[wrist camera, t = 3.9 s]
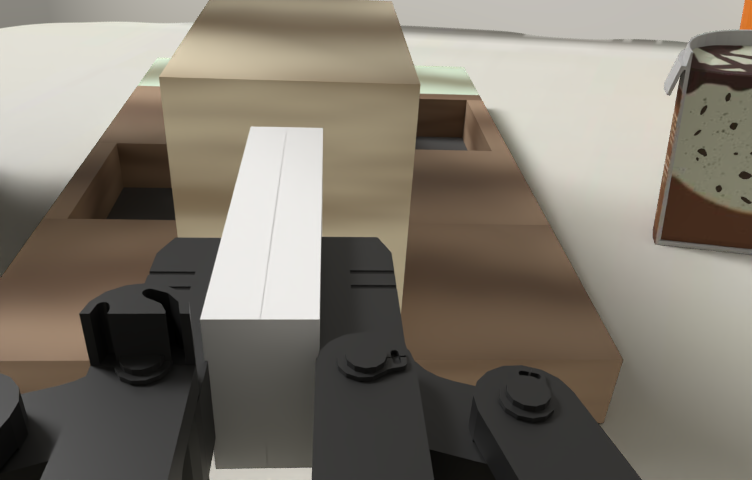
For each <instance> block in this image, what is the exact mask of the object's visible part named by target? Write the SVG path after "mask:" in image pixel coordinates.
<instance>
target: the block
mask: <svg viewBox="0 0 752 480" xmlns="http://www.w3.org/2000/svg"><path fill="white" fill-rule="evenodd" d="M159 83H160V91H161V100H162V108H163V117H164V125H165V134H166V142H167V151H168V159H169V167H170V176H171V184H172V193H173V201H174V210H175V218H176V227H177V235H178V237H182V238H222V234H223V230H224V226H225V222H226V219H227V215H228V211H229V207H230V203H231V200H232V196H233V192H234V188H235V184H236V181H237V177H238V173H239V169H240V165H241V162H242V158H243V154H244V150H245V146H246V143H247V139H248V135H249V131H250V127H251V126H253V127H301V128H323V206H322V237H378V238H379V239H380V240H381V242H382V243H383V244H384V245H385V246H386V247H387V248H388V249H389V250H390V252H391V253H392V259H393V266H394V274H395V279H396V289H397V292H398V299H399V306H400V312H401V307H402V296H403V284H404V272H405V261H406V249H407V237H408V226H409V214H410V202H411V190H412V179H413V167H414V155H415V144H416V132H417V120H418V109H419V97H420V85H421V84H420V81H419V78H418V76H417V73H416V70H415V67H414V64H413V61H412V58H411V55H410V52H409V50H408V47H407V44H406V41H405V38H404V35H403V32H402V29H401V26H400V24H399V21H398V18H397V15H396V12H395V9H394V6H393V3H392V1H369V0H209V1H208V3H207V4H206V6H205V7H204V9H203V11H202V12H201V14H200V15H199V17H198V18H197V20H196V21H195V23H194V24H193V26H192V27H191V29H190V30H189V32H188V33H187V35H186V36H185V38H184V39H183V41H182V42H181V44H180V45H179V47H178V48H177V50H176V51H175V53H174V55H173V56H172V58H171V59H170V61H169V62H168V64H167V65H166V67H165V68H164V70H163V71H162V73H161V74H160V76H159Z"/></svg>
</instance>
